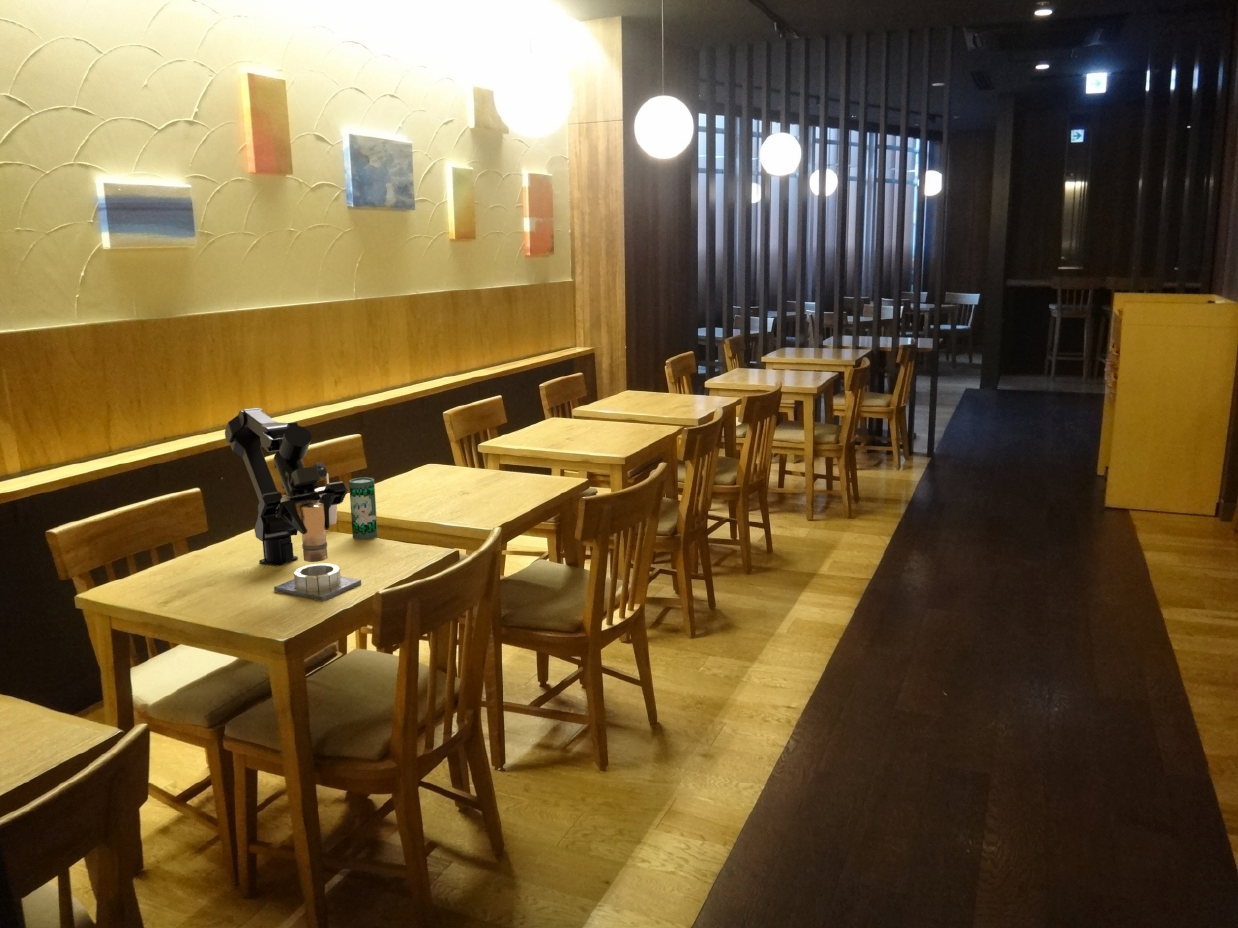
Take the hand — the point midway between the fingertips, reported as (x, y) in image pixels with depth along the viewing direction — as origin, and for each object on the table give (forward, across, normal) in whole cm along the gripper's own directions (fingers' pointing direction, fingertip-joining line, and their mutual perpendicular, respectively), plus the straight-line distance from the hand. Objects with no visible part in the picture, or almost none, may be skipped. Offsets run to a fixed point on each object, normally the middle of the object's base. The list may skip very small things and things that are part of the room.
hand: (316, 531), depth 212 cm
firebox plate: (+8, 0, +10) cm, 13 cm away
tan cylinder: (+4, 0, +6) cm, 7 cm away
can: (-12, +25, +32) cm, 42 cm away
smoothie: (-25, +23, +44) cm, 55 cm away
